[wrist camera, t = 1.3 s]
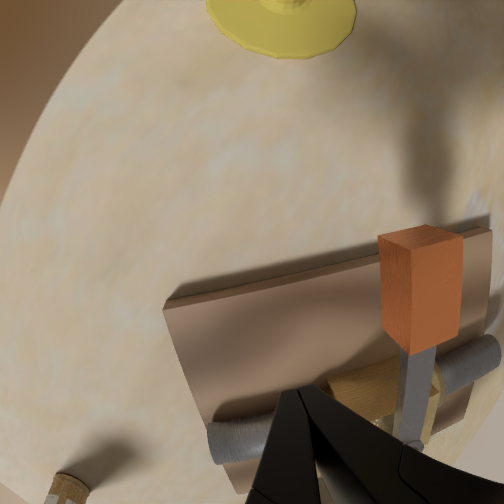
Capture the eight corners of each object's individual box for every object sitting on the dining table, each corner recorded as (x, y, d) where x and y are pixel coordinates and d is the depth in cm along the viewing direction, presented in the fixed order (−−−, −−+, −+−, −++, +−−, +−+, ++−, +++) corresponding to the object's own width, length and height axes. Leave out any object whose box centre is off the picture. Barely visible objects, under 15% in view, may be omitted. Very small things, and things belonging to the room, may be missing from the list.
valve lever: (410, 440, 16) (427, 466, 14) (375, 455, 16) (390, 482, 13) (426, 224, 12) (463, 236, 10) (377, 235, 12) (410, 250, 10)
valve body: (470, 363, 22) (510, 398, 16) (222, 444, 21) (224, 506, 15) (478, 315, 21) (526, 346, 15) (203, 398, 20) (201, 465, 14)
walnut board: (456, 410, 25) (463, 418, 24) (236, 482, 24) (237, 494, 23) (480, 226, 20) (492, 230, 19) (166, 300, 19) (162, 310, 18)
